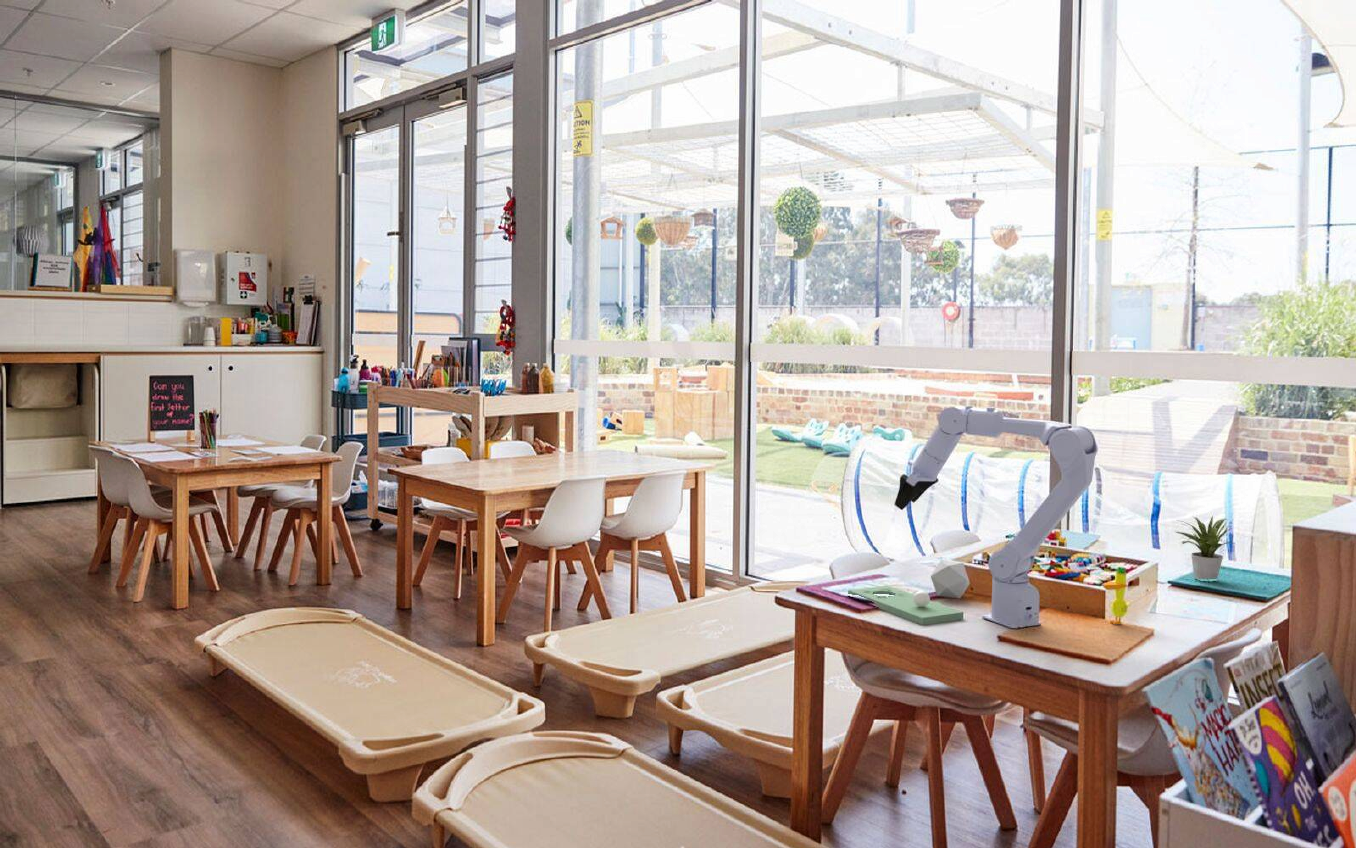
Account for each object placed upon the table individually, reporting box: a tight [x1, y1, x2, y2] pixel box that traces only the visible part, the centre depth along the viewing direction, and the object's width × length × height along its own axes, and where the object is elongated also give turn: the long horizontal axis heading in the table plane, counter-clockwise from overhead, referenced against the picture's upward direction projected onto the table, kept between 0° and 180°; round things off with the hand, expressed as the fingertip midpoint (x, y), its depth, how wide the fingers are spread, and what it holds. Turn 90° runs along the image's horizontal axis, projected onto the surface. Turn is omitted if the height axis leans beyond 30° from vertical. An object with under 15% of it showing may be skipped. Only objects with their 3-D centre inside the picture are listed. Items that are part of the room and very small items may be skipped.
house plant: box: [1176, 515, 1236, 580], centre depth 269 cm, size 14×14×16 cm
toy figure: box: [1101, 566, 1130, 625], centre depth 226 cm, size 7×4×12 cm, turn 106°
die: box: [930, 560, 971, 599], centre depth 248 cm, size 8×9×10 cm
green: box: [847, 585, 964, 626], centre depth 238 cm, size 26×11×2 cm, turn 27°
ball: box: [913, 590, 931, 607], centre depth 232 cm, size 4×4×4 cm
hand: (904, 503), depth 242 cm, fingers open, 7 cm apart
